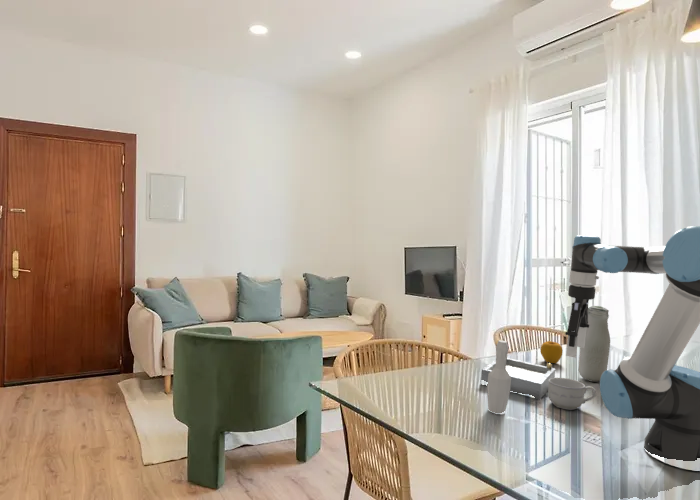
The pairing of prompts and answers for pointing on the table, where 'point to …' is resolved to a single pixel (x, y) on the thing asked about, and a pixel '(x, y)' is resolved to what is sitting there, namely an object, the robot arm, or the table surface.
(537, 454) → the table surface
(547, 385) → the grey serving tray
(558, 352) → the apple
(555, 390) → the teacup
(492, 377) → the low poly bottle
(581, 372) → the grey bottle
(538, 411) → the table surface
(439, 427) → the table surface
